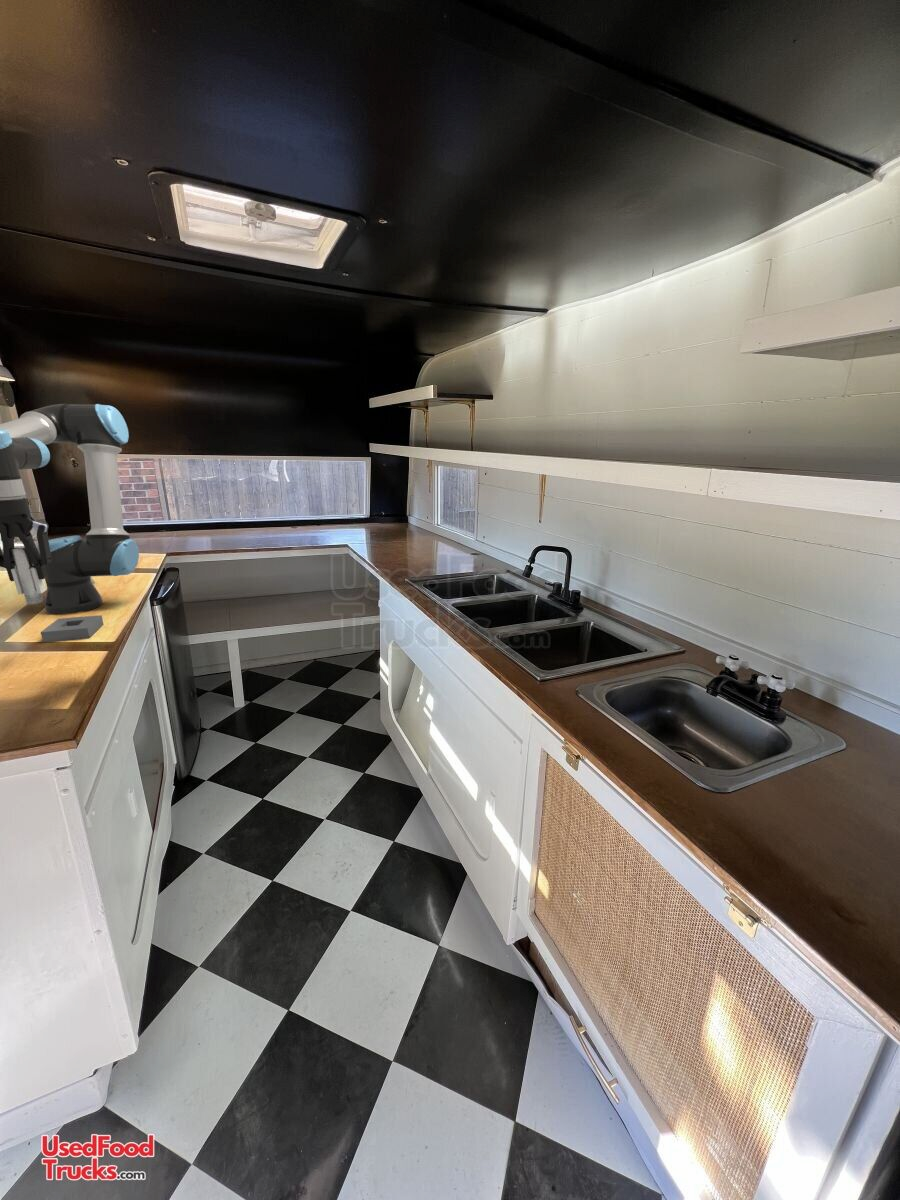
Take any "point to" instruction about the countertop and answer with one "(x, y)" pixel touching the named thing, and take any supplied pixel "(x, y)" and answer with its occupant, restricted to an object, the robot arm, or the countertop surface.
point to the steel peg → (26, 575)
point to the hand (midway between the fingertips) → (32, 592)
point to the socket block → (72, 628)
